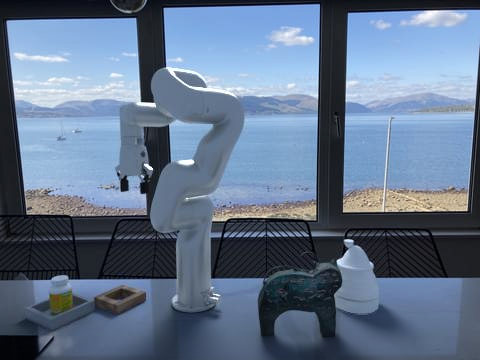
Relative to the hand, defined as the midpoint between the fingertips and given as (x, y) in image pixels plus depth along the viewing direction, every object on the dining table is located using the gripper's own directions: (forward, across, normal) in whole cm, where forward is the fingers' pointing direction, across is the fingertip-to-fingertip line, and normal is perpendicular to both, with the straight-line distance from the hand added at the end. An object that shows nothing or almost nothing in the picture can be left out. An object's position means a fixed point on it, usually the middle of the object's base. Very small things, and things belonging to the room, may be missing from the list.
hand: (134, 192), depth 121 cm
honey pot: (+29, -71, -15) cm, 78 cm away
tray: (+28, -6, +32) cm, 43 cm away
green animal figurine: (+29, -64, +8) cm, 70 cm away
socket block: (+28, -14, +19) cm, 37 cm away
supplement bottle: (+28, -6, +32) cm, 43 cm away
